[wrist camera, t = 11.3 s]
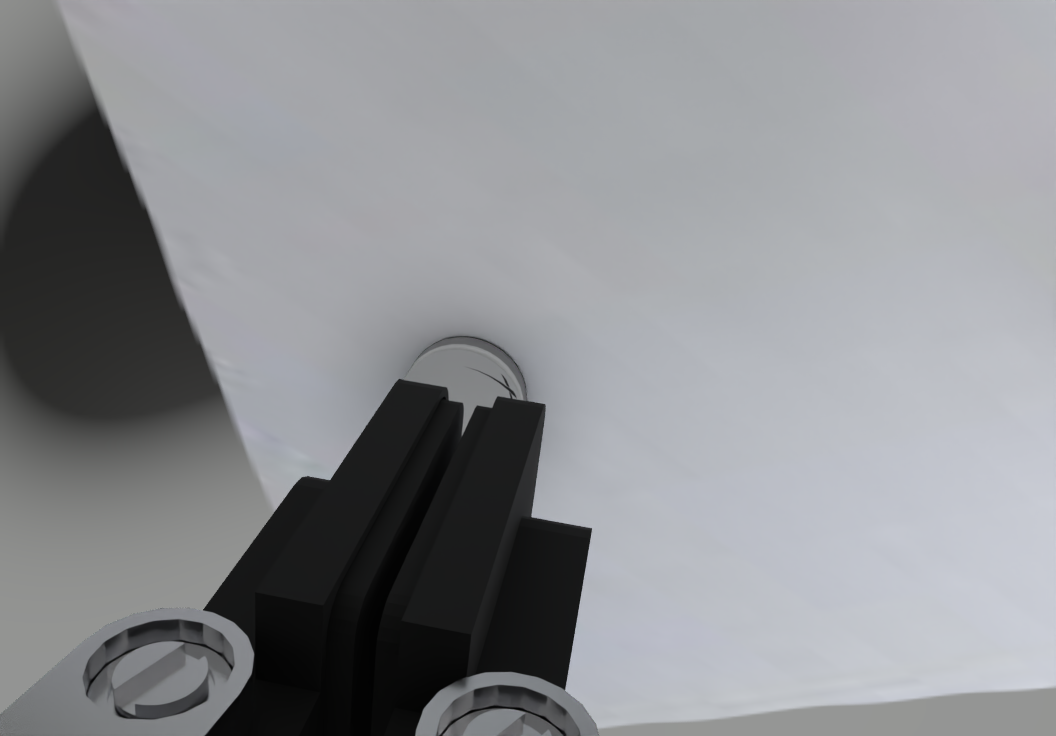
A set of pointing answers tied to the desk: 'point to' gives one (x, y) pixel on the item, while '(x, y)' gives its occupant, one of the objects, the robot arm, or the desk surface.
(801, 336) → the desk surface
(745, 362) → the desk surface
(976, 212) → the desk surface
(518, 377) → the travel mug
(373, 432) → the robot arm
